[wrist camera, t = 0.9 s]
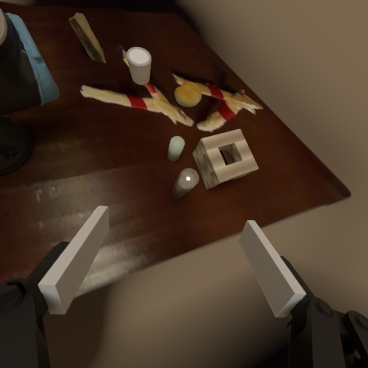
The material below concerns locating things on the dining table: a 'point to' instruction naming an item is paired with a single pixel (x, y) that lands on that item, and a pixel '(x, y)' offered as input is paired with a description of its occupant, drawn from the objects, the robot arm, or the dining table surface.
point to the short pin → (175, 148)
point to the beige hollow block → (213, 162)
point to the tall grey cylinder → (184, 183)
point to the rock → (87, 37)
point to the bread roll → (188, 94)
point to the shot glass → (139, 65)
